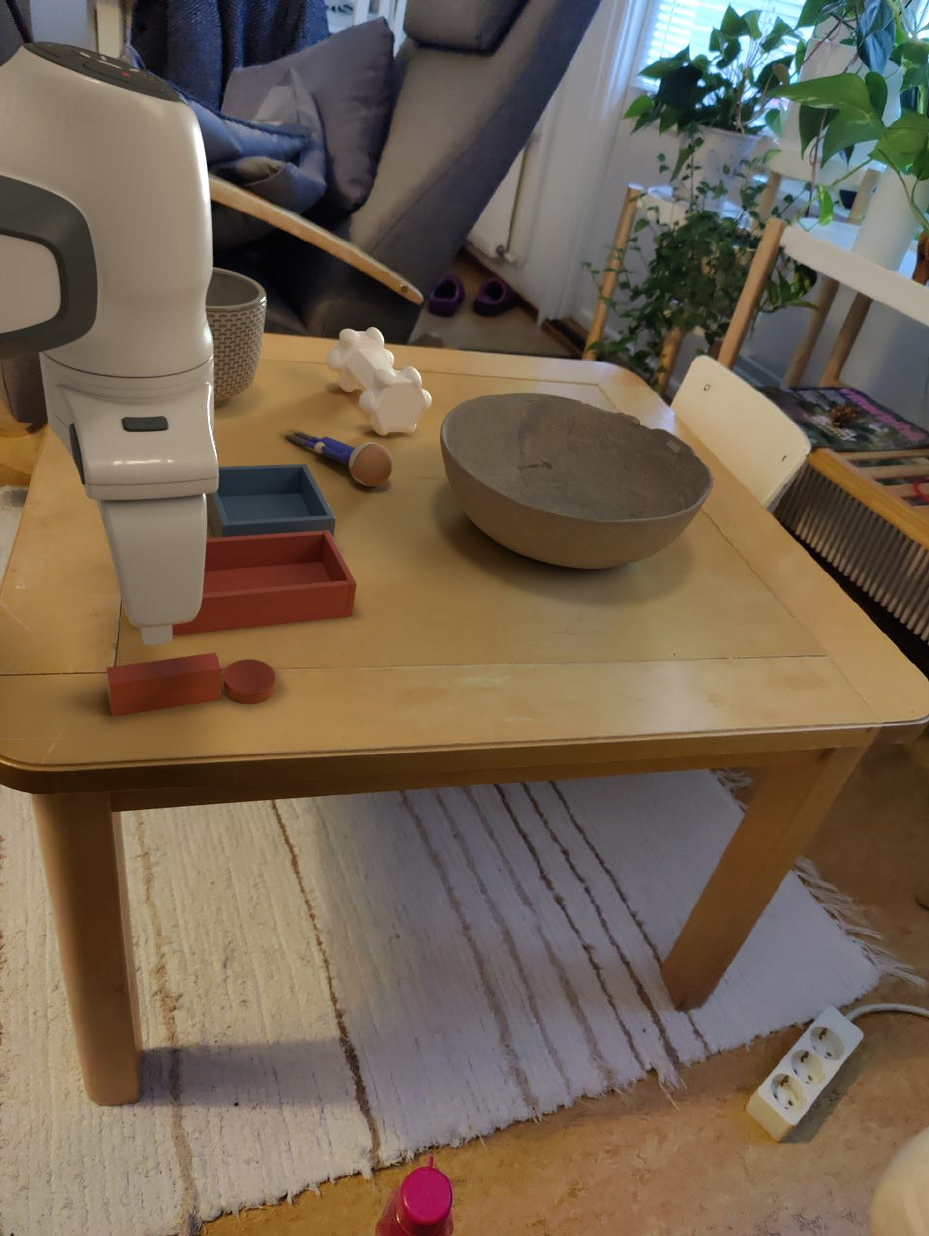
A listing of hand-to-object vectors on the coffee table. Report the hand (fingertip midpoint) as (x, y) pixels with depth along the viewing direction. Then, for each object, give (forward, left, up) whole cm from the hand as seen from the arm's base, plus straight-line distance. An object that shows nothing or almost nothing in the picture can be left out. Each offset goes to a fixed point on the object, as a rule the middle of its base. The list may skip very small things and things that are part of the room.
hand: (145, 592), depth 57 cm
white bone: (+33, +46, -10) cm, 57 cm away
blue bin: (+14, +22, -10) cm, 28 cm away
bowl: (+43, +18, -10) cm, 48 cm away
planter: (+13, +50, -10) cm, 52 cm away
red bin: (+10, +11, -10) cm, 18 cm away
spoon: (+3, 0, -10) cm, 10 cm away
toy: (+24, +33, -10) cm, 42 cm away
